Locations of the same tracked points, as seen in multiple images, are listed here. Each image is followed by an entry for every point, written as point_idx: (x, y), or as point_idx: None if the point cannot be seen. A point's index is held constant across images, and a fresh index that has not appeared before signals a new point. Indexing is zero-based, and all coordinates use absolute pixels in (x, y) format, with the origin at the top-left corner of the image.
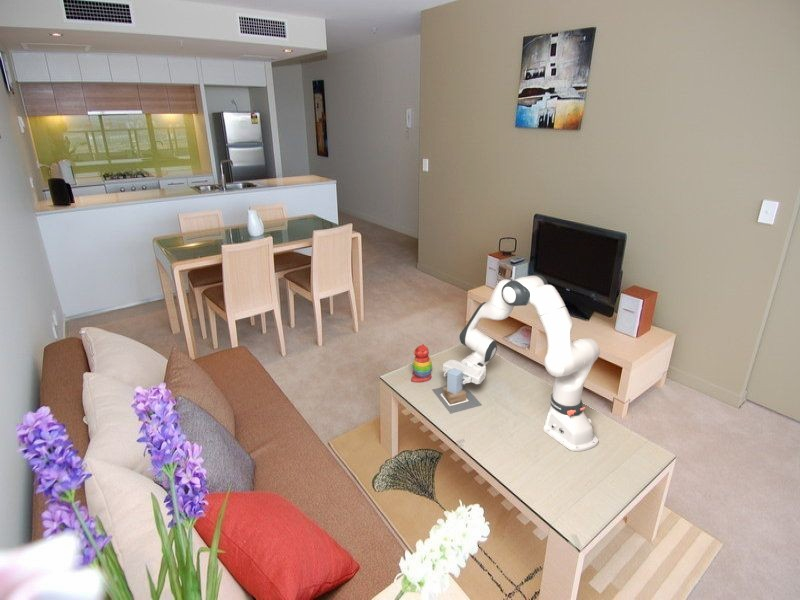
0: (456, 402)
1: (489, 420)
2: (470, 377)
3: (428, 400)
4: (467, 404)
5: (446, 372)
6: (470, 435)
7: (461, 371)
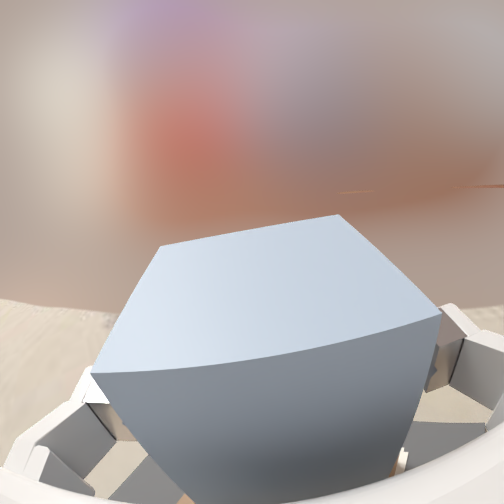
0: None
1: None
2: (15, 465)
3: None
4: (162, 500)
5: (462, 328)
6: (89, 348)
7: (121, 350)
